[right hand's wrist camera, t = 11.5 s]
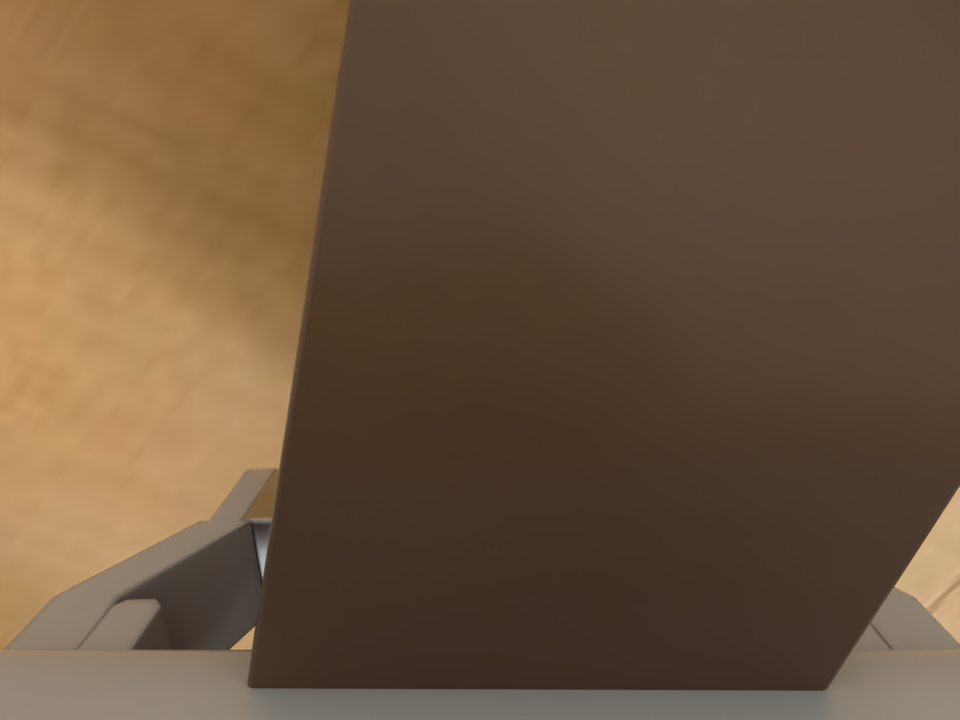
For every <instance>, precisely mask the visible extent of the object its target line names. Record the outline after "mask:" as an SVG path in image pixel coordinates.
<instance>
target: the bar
mask: <svg viewBox="0 0 960 720" xmlns="http://www.w3.org/2000/svg"><path fill="white" fill-rule="evenodd" d="M959 486H960V0H350V1H349V7H348V14H347V21H346V27H345V34H344V41H343V47H342V54H341V61H340V67H339V74H338V81H337V87H336V94H335V101H334V107H333V114H332V121H331V127H330V134H329V141H328V147H327V154H326V161H325V167H324V174H323V181H322V187H321V194H320V201H319V207H318V214H317V221H316V227H315V234H314V240H313V247H312V254H311V260H310V267H309V274H308V280H307V287H306V294H305V300H304V307H303V314H302V320H301V327H300V334H299V340H298V347H297V354H296V360H295V367H294V374H293V380H292V387H291V394H290V400H289V407H288V414H287V420H286V427H285V434H284V440H283V447H282V454H281V460H280V467H279V474H278V480H277V487H276V493H275V500H274V507H273V513H272V520H271V527H270V533H269V540H268V547H267V553H266V560H265V567H264V573H263V580H262V587H261V593H260V600H259V607H258V613H257V620H256V627H255V633H254V640H253V647H252V653H251V660H250V667H249V673H248V680H247V687H250V688H269V689H510V690H751V691H824V690H826V689H828V687H829V686H830V684H831V683H832V681H833V679H834V678H835V676H836V675H837V673H838V672H839V670H840V669H841V667H842V666H843V664H844V663H845V661H846V660H847V658H848V656H849V655H850V653H851V652H852V650H853V649H854V647H855V646H856V644H857V643H858V641H859V640H860V638H861V637H862V635H863V633H864V632H865V630H866V629H867V627H868V626H869V624H870V623H871V621H872V620H873V618H874V617H875V615H876V614H877V612H878V610H879V609H880V607H881V606H882V604H883V603H884V601H885V600H886V598H887V597H888V595H889V594H890V592H891V591H892V589H893V587H894V586H895V584H896V583H897V581H898V580H899V578H900V577H901V575H902V574H903V572H904V571H905V569H906V568H907V566H908V564H909V563H910V561H911V560H912V558H913V557H914V555H915V554H916V552H917V551H918V549H919V548H920V546H921V544H922V543H923V541H924V540H925V538H926V537H927V535H928V534H929V532H930V531H931V529H932V528H933V526H934V525H935V523H936V521H937V520H938V518H939V517H940V515H941V514H942V512H943V511H944V509H945V508H946V506H947V505H948V503H949V502H950V500H951V498H952V497H953V495H954V494H955V492H956V491H957V489H958V488H959Z"/></svg>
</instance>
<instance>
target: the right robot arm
mask: <svg viewBox="0 0 960 720" xmlns="http://www.w3.org/2000/svg"><path fill="white" fill-rule="evenodd" d="M278 474H279V469H276V468H265V469H249V470H246V471H245V472H244V474H243V475H242V476H241V478H240V479H239V481H238V482H237V483H236V485H235V486H234V487H233V489H232V490H231V491H230V493H229V494H228V496H227V497H226V498H225V500H224V501H223V502H222V504H221V505H220V507H219V508H218V509H217V511H216V512H215V513H214V515H213V516H212V518H211V519H210V520H209V521H199V522H197V523H195V524H194V525H192V526H190V527H188V528H186V529H184V530H182V531H180V532H178V533H176V534H174V535H172V536H170V537H168V538H167V539H165V540H163V541H161V542H159V543H157V544H155V545H153V546H151V547H149V548H147V549H145V550H143V551H141V552H140V553H138V554H136V555H134V556H132V557H130V558H128V559H126V560H124V561H122V562H120V563H118V564H116V565H114V566H113V567H111V568H109V569H107V570H105V571H103V572H101V573H99V574H97V575H95V576H93V577H91V578H89V579H87V580H86V581H84V582H82V583H80V584H78V585H76V586H74V587H72V588H70V589H68V590H66V591H64V592H62V593H60V594H59V595H57V596H55V597H53V598H52V599H51V600H50V601H49V603H48V604H47V605H46V606H45V607H44V608H43V609H42V610H41V611H40V612H39V613H38V614H37V615H36V616H35V617H34V618H33V619H32V620H31V621H30V623H29V624H28V625H27V626H26V627H25V628H24V629H23V630H22V631H21V632H20V633H19V634H18V635H17V636H16V637H15V638H14V639H13V640H12V641H11V643H10V644H9V645H8V646H7V647H6V648H5V649H4V650H0V720H960V644H959V643H958V642H957V641H956V640H955V639H954V638H953V637H952V636H951V635H950V634H949V633H948V632H947V630H946V629H945V628H944V627H943V626H942V625H941V624H940V623H939V622H938V621H937V620H936V619H935V618H934V617H933V616H932V615H931V614H930V613H929V612H928V611H927V610H926V609H925V608H924V607H923V606H922V604H921V603H920V602H919V601H918V600H917V599H916V598H914V597H913V596H911V595H909V594H907V593H905V592H903V591H901V590H899V589H897V588H895V587H893V589H892V591H891V592H890V594H889V595H888V597H887V598H886V600H885V601H884V603H883V604H882V606H881V607H880V609H879V610H878V612H877V614H876V615H875V617H874V618H873V620H872V621H871V623H870V624H869V626H868V627H867V629H866V630H865V632H864V633H863V635H862V637H861V638H860V640H859V641H858V643H857V644H856V646H855V647H854V649H853V650H852V652H851V653H850V655H849V656H848V658H847V660H846V661H845V663H844V664H843V666H842V667H841V669H840V670H839V672H838V673H837V675H836V676H835V678H834V679H833V681H832V683H831V684H830V686H829V687H828V689H826V690H824V691H751V690H510V689H269V688H250V687H247V680H248V673H249V667H250V660H251V653H252V650H229V649H230V648H231V647H232V646H234V645H235V644H236V643H237V642H238V641H239V640H240V639H241V638H242V637H243V636H245V635H246V634H247V633H248V632H249V631H250V630H251V629H252V628H253V627H254V626H256V620H257V613H258V607H259V600H260V593H261V587H262V580H263V573H264V567H265V560H266V553H267V547H268V540H269V533H270V527H271V520H272V513H273V507H274V500H275V493H276V487H277V480H278Z"/></svg>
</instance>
